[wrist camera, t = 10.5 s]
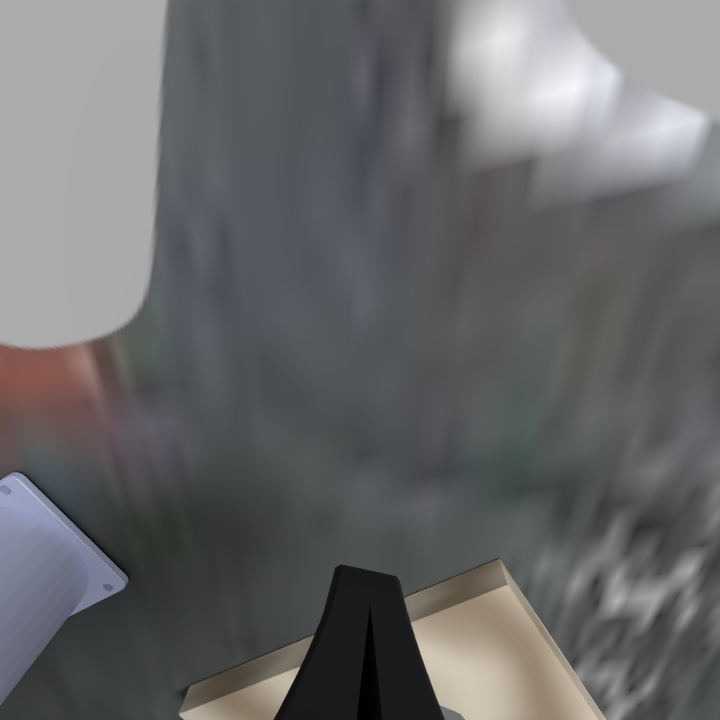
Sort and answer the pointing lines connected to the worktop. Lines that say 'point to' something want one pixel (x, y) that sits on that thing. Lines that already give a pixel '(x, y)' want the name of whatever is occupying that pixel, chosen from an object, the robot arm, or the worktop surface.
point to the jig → (436, 660)
